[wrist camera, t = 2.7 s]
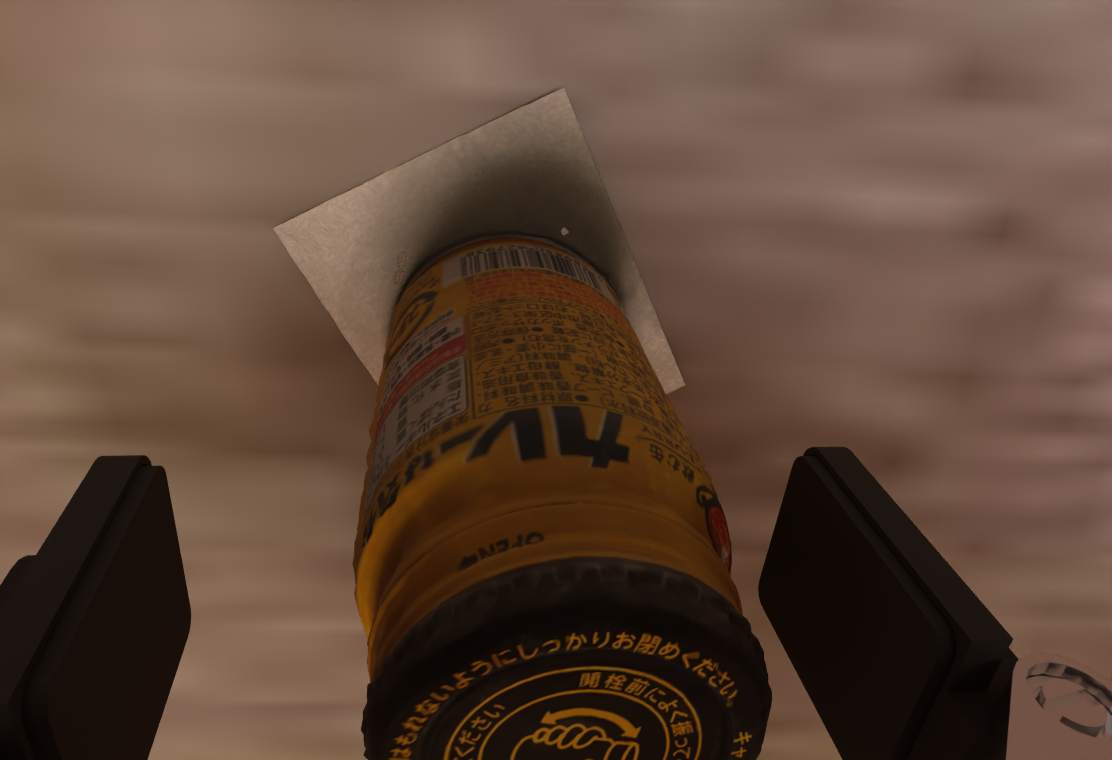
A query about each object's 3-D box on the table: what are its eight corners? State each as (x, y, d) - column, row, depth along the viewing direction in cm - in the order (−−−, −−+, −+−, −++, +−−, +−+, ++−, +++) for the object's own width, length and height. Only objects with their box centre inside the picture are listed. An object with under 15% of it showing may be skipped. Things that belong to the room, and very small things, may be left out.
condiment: (446, 486, 22) (454, 970, 11) (274, 225, 18) (39, 609, 7) (683, 381, 21) (921, 791, 11) (561, 84, 17) (756, 282, 7)
